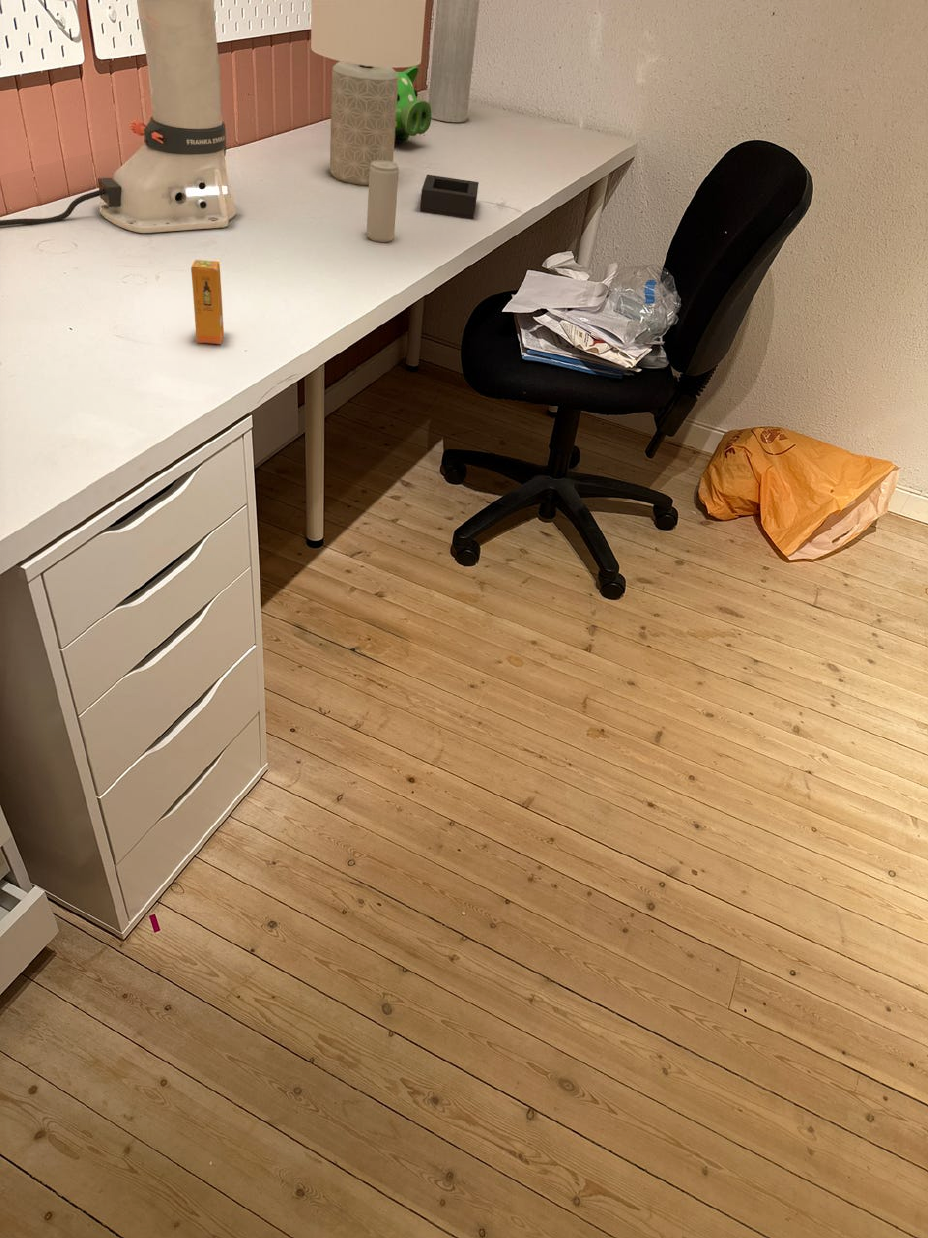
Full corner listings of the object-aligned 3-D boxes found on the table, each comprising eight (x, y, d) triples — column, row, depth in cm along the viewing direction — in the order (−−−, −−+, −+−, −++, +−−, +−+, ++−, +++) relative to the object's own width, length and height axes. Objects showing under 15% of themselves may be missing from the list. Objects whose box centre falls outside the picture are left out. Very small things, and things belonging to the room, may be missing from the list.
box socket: (473, 218, 175) (475, 196, 172) (419, 211, 175) (421, 188, 172) (476, 203, 183) (478, 181, 180) (425, 195, 182) (426, 174, 180)
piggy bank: (398, 154, 203) (404, 77, 193) (333, 134, 209) (335, 58, 199) (434, 145, 213) (440, 71, 203) (370, 126, 219) (374, 53, 209)
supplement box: (225, 334, 124) (221, 260, 118) (221, 345, 122) (217, 269, 115) (200, 332, 124) (195, 257, 118) (195, 343, 121) (190, 267, 115)
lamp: (400, 198, 179) (419, -66, 152) (296, 180, 180) (297, -86, 153) (420, 171, 195) (440, -72, 168) (325, 155, 196) (330, -90, 169)
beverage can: (389, 244, 159) (395, 170, 151) (362, 239, 159) (366, 164, 151) (396, 236, 162) (402, 163, 155) (370, 231, 163) (374, 157, 155)
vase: (470, 124, 232) (484, -4, 215) (431, 121, 230) (442, -9, 212) (461, 114, 240) (475, -11, 222) (424, 111, 237) (434, -15, 220)
